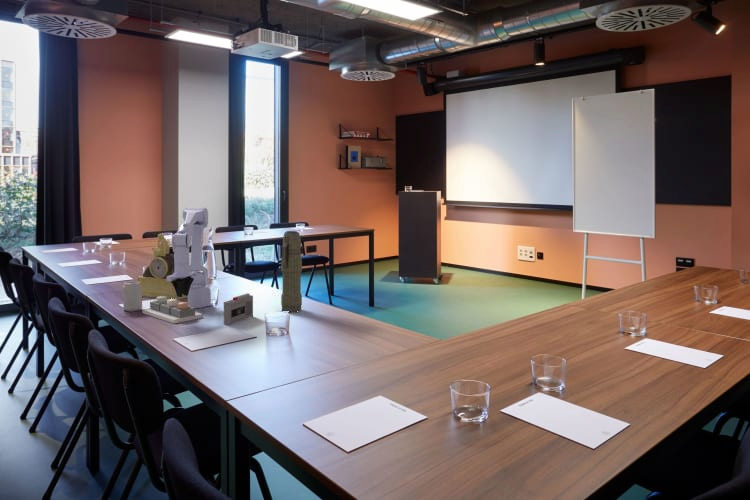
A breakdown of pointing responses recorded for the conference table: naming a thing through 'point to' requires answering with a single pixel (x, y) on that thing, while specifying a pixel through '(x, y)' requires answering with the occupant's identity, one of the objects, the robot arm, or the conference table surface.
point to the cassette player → (238, 309)
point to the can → (132, 296)
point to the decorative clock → (159, 273)
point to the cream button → (172, 302)
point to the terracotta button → (182, 305)
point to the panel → (171, 312)
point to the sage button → (161, 299)
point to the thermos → (291, 272)
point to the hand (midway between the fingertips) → (182, 296)
